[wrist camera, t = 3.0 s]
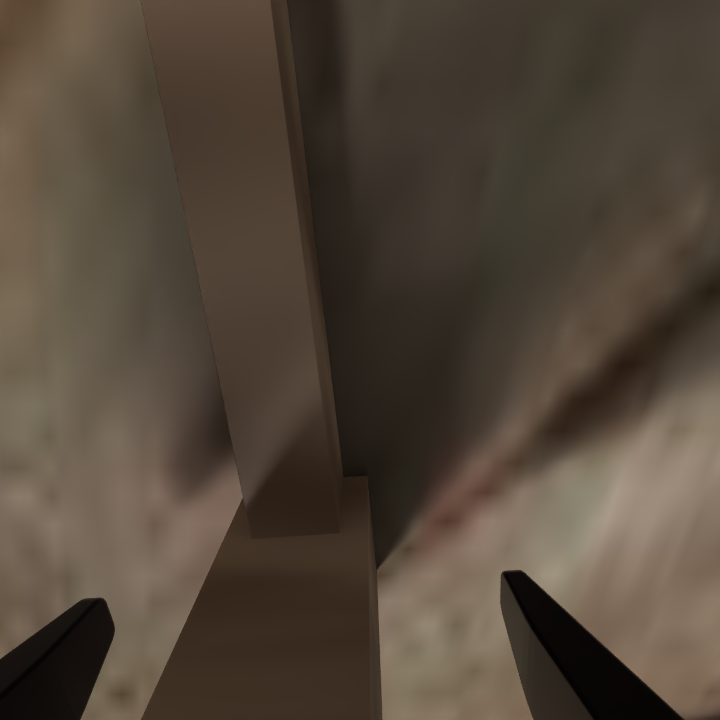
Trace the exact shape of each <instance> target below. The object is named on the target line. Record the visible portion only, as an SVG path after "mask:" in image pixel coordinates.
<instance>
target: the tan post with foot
mask: <svg viewBox="0 0 720 720" xmlns="http://www.w3.org/2000/svg"><path fill="white" fill-rule="evenodd" d="M141 5H142V10H143V15H144V19H145V24H146V29H147V34H148V39H149V44H150V48H151V53H152V58H153V63H154V68H155V73H156V78H157V82H158V87H159V92H160V97H161V102H162V107H163V112H164V116H165V121H166V126H167V131H168V136H169V141H170V145H171V150H172V155H173V160H174V165H175V170H176V175H177V179H178V184H179V189H180V194H181V199H182V204H183V209H184V213H185V218H186V223H187V228H188V233H189V238H190V242H191V247H192V252H193V257H194V262H195V267H196V272H197V276H198V281H199V286H200V291H201V296H202V301H203V306H204V310H205V315H206V320H207V325H208V330H209V335H210V339H211V344H212V349H213V354H214V359H215V364H216V369H217V373H218V378H219V383H220V388H221V393H222V398H223V403H224V407H225V412H226V417H227V422H228V427H229V432H230V436H231V441H232V446H233V451H234V456H235V461H236V466H237V470H238V475H239V480H240V485H241V490H242V495H243V499H242V501H241V503H240V505H239V507H238V509H237V512H236V514H235V516H234V518H233V520H232V523H231V525H230V527H229V529H228V531H227V533H226V536H225V538H224V540H223V542H222V544H221V547H220V549H219V551H218V553H217V555H216V557H215V560H214V562H213V564H212V566H211V568H210V571H209V573H208V575H207V577H206V579H205V581H204V584H203V586H202V588H201V590H200V592H199V595H198V597H197V599H196V601H195V603H194V605H193V608H192V610H191V612H190V614H189V616H188V618H187V621H186V623H185V625H184V627H183V629H182V632H181V634H180V636H179V638H178V640H177V642H176V645H175V647H174V649H173V651H172V653H171V656H170V658H169V660H168V662H167V664H166V666H165V669H164V671H163V673H162V675H161V677H160V680H159V682H158V684H157V686H156V688H155V690H154V693H153V695H152V697H151V699H150V701H149V704H148V706H147V708H146V710H145V712H144V714H143V717H142V719H141V720H382V697H381V671H380V644H379V618H378V592H377V569H376V559H375V549H374V538H373V528H372V518H371V508H370V498H369V488H368V477H367V475H365V476H352V477H343V469H342V461H341V452H340V444H339V435H338V427H337V418H336V410H335V402H334V393H333V385H332V376H331V368H330V359H329V351H328V343H327V334H326V326H325V317H324V309H323V300H322V292H321V284H320V275H319V267H318V258H317V250H316V241H315V233H314V225H313V216H312V208H311V199H310V191H309V182H308V174H307V165H306V157H305V149H304V140H303V132H302V123H301V115H300V106H299V98H298V90H297V81H296V73H295V64H294V56H293V47H292V39H291V31H290V22H289V14H288V5H287V0H141Z"/></svg>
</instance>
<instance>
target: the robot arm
mask: <svg viewBox="0 0 720 720" xmlns="http://www.w3.org/2000/svg"><path fill="white" fill-rule="evenodd" d="M500 603H501V610H502V615H503V618H504V622H505V625H506V629H507V633H508V636H509V640H510V644H511V647H512V651H513V654H514V658H515V662H516V665H517V669H518V673H519V676H520V680H521V683H522V687H523V690H524V694H525V697H526V700H527V703H528V706H529V709H530V711H531V714H532V717H533V719H534V720H684V719H683V718H682V717H681V716H680V715H679V714H678V713H677V712H676V711H675V710H673V709H672V708H671V707H670V706H669V705H668V704H667V703H666V702H665V701H664V700H663V699H662V698H660V697H659V696H658V695H657V694H656V693H655V692H654V691H653V690H652V689H651V688H650V687H648V686H647V685H646V684H645V683H644V682H643V681H642V680H641V679H640V678H639V677H638V676H636V675H635V674H634V673H633V672H632V671H631V670H630V669H629V668H628V667H627V666H626V665H625V664H623V663H622V662H621V661H620V660H619V659H618V658H617V657H616V656H615V655H614V654H613V653H611V652H610V651H609V650H608V649H607V648H606V647H605V646H604V645H603V644H602V643H601V642H600V641H598V640H597V639H596V638H595V637H594V636H593V635H592V634H591V633H590V632H589V631H588V630H586V629H585V628H584V627H583V626H582V625H581V624H580V623H579V622H578V621H577V620H576V619H575V618H573V617H572V616H571V615H570V614H569V613H568V612H567V611H566V610H565V609H564V608H563V607H561V606H560V605H559V604H558V603H557V602H556V601H555V600H554V599H553V598H552V597H551V596H549V595H548V594H547V593H546V592H545V591H544V590H543V589H542V588H541V587H540V586H539V585H538V584H536V583H535V582H534V581H533V580H532V579H531V578H530V577H529V576H528V575H527V574H526V573H524V572H523V571H521V570H511V571H503V572H502V574H501V594H500ZM114 632H115V626H114V622H113V619H112V617H111V614H110V611H109V608H108V605H107V602H106V601H105V600H104V599H103V598H86V599H83V600H81V601H79V602H78V603H76V604H75V605H74V606H72V607H71V608H69V609H68V610H67V611H65V612H64V613H63V614H61V615H60V616H59V617H57V618H56V619H54V620H53V621H52V622H50V623H49V624H48V625H46V626H45V627H43V628H42V629H41V630H39V631H38V632H37V633H35V634H34V635H33V636H31V637H30V638H28V639H27V640H26V641H24V642H23V643H22V644H20V645H19V646H18V647H16V648H15V649H13V650H12V651H11V652H9V653H8V654H7V655H5V656H4V657H2V658H1V659H0V720H80V719H81V717H82V715H83V712H84V710H85V708H86V705H87V703H88V700H89V698H90V695H91V693H92V690H93V688H94V685H95V683H96V680H97V678H98V675H99V673H100V670H101V668H102V665H103V663H104V660H105V658H106V655H107V653H108V650H109V648H110V645H111V643H112V640H113V637H114Z"/></svg>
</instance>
